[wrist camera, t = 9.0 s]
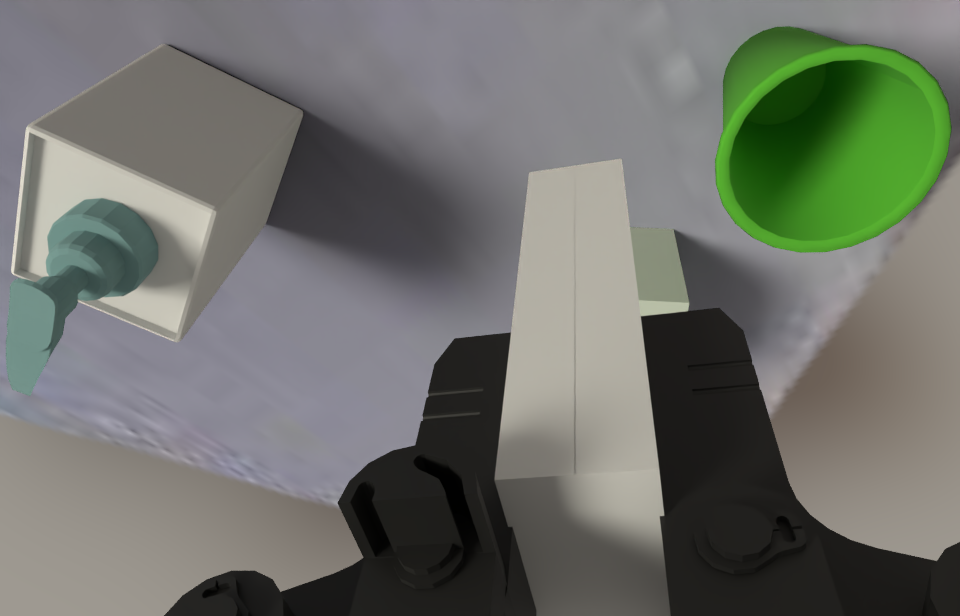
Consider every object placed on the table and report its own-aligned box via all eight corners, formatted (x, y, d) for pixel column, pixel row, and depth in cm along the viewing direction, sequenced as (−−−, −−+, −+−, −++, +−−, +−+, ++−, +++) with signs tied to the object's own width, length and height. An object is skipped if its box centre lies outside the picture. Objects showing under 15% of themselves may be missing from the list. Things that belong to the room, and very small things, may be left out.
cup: (650, 74, 40) (671, 156, 31) (800, -58, 36) (875, -7, 27) (750, 186, 43) (795, 290, 34) (899, 77, 39) (997, 162, 30)
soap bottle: (136, 168, 47) (-85, 356, 31) (163, 40, 42) (-84, 188, 26) (265, 227, 48) (115, 434, 33) (305, 110, 43) (152, 288, 28)
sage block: (568, 305, 49) (566, 383, 43) (573, 224, 46) (573, 297, 39) (660, 309, 49) (673, 390, 42) (673, 229, 45) (689, 302, 39)
